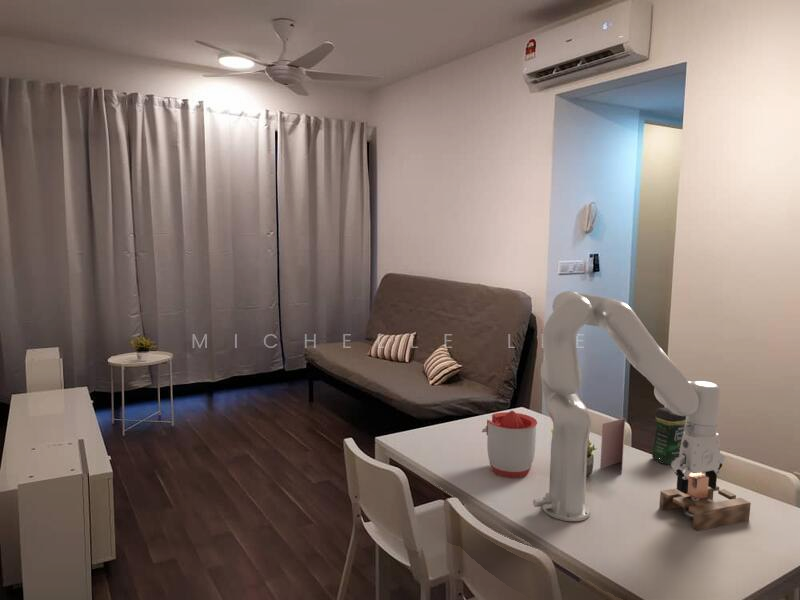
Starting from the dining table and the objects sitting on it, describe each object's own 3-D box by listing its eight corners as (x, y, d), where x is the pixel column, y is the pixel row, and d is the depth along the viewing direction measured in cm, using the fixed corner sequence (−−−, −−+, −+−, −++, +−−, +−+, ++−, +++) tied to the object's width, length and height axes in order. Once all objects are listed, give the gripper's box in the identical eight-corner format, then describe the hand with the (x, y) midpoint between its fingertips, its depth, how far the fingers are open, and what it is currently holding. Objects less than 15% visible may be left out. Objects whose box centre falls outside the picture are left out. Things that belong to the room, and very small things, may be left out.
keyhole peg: (694, 521, 156) (697, 480, 154) (679, 513, 160) (682, 472, 159) (708, 518, 157) (711, 477, 156) (693, 510, 162) (696, 470, 161)
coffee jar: (668, 467, 191) (672, 412, 189) (648, 458, 198) (651, 405, 196) (687, 462, 196) (691, 408, 193) (667, 454, 203) (671, 402, 200)
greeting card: (620, 460, 197) (623, 417, 195) (639, 468, 190) (642, 423, 189) (598, 467, 191) (600, 423, 189) (617, 475, 184) (619, 429, 182)
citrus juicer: (488, 457, 198) (490, 400, 196) (539, 466, 191) (542, 407, 188) (474, 474, 184) (475, 413, 182) (529, 485, 177) (531, 421, 174)
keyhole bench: (696, 530, 151) (698, 512, 150) (659, 507, 163) (660, 490, 162) (749, 520, 157) (750, 502, 156) (709, 499, 169) (710, 482, 168)
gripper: (686, 436, 149) (681, 499, 152) (737, 429, 155) (732, 490, 157) (664, 426, 156) (660, 487, 159) (714, 420, 162) (709, 479, 164)
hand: (696, 489), depth 158 cm, fingers open, 9 cm apart
